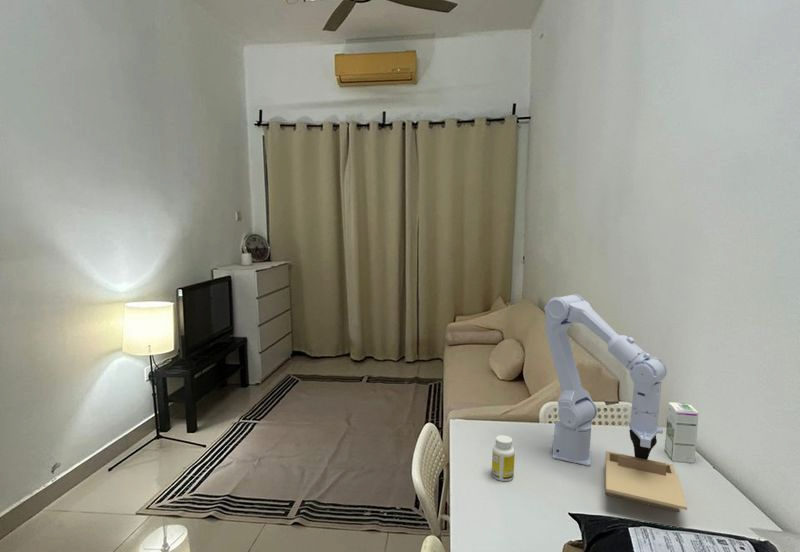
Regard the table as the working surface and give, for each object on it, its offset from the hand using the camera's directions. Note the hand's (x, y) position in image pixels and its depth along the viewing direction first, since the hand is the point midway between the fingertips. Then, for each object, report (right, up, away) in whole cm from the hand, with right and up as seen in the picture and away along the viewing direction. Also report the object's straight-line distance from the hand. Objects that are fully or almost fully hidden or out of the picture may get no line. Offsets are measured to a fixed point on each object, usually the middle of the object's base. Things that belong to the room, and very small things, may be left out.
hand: (640, 462), depth 109 cm
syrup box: (+18, -5, +14) cm, 24 cm away
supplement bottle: (-32, -5, +4) cm, 33 cm away
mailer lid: (-3, -2, -7) cm, 8 cm away
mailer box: (0, -6, 0) cm, 6 cm away
